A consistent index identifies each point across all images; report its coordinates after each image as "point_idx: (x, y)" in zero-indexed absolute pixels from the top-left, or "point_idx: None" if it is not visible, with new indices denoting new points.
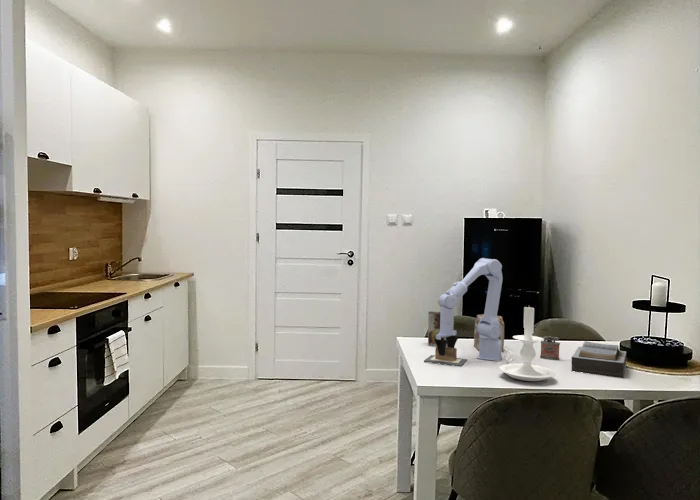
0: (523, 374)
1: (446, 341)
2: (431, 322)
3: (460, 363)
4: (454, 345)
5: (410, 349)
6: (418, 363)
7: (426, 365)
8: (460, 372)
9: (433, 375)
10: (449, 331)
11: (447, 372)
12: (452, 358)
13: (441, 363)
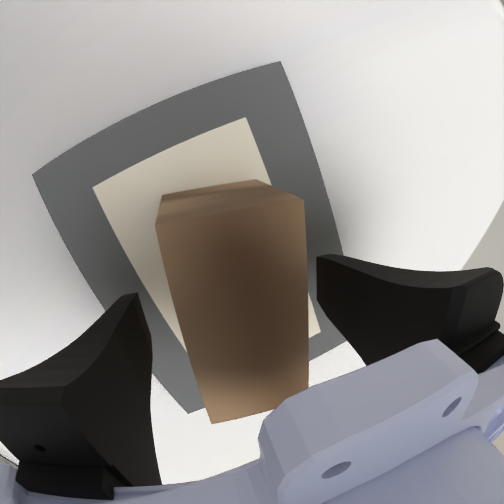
0: None
1: (471, 276)
2: None
3: (229, 98)
4: (94, 330)
5: None
6: None
7: (409, 261)
8: (399, 20)
9: (498, 120)
10: None
11: (445, 83)
12: (254, 184)
13: (333, 223)
